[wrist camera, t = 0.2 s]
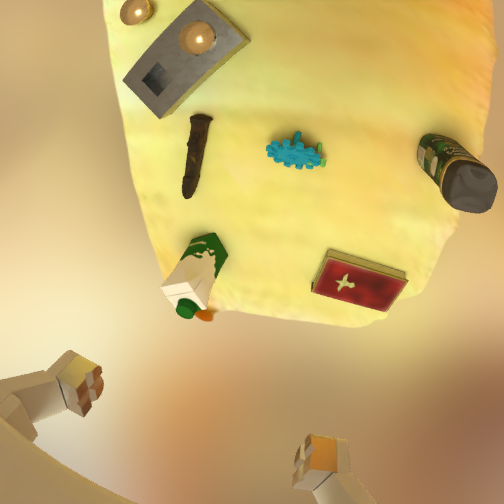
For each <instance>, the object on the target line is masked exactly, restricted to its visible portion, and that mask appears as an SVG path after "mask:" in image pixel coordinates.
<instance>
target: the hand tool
mask: <svg viewBox="0 0 504 504" xmlns="http://www.w3.org/2000/svg"><path fill="white" fill-rule="evenodd" d="M212 120H213V119H212V118H211V117H207V116H204V115H194V116H191V117H190V123H191V131H190V137H189V141H188V143H187V146H188V153H187V160H186V169H185V176H184V177H183V181H182V182H183V184H182V193H183V194H182V195H183V196H184V198H185V199H189V198H191V197H192V195H193V193H194V191H195V189H196V187H197V184H198V181H199V178H200V174H199V172H200V167H201V162H202V158H203V151H204V147H205V143H206V137H207V131H208V126H209V123H210V121H212Z"/></svg>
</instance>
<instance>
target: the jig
mask: <svg viewBox="0 0 504 504" xmlns="http://www.w3.org/2000/svg"><path fill="white" fill-rule="evenodd" d="M249 42H250V40H249V39H248V38H247V37H246V36H245V35H244V34H243V33H242V32H241V31H240V30H239V29H238V28H237V27H236V26H235V25H234V24H233V23H232V22H231V21H229V20H228V19H227V18H226V17H225V16H224V15H223V14H222V13H221V12H220V11H219V10H217V9H216V8H215V7H214V6H213V5H212V4H211V3H210V2H208V1H206V0H195V1H194V2H193V3H192V4H190V5H189V6H188V7H187V8H186V9H185V10H184V11H183V12H182V13H181V14H180V15H179V16H178V17H177V18H176V19H175V20H174V21H173V22H172V23H171V24H170V25H169V26H168V27H167V28H166V29H165V30H164V31H163V33H162V34H161V35H160V36H159V37H158V38H157V39H156V40H155V41H154V42H153V44H152V45H151V46H150V47H149V48H148V49H147V50H146V52H145V53H144V54H143V55H142V56H141V57H140V59H139V60H138V61H137V62H136V64H135V65H134V66H133V67H132V69H131V70H130V71H129V72H128V74H127V75H126V76H125V78H124V79H123V80H122V81H123V82H124V83H125V84H126V85H127V86H128V87H129V88H130V89H131V90H132V91H133V92H134V93H135V94H136V95H137V96H138V97H139V98H140V99H141V100H142V101H143V102H144V104H145V105H146V106H147V107H148V108H149V109H150V110H151V111H152V112H153V113H154V114H155V115H156V116H157V117H158V118H159V119H162V118H164V117H166V116H168V115H170V114H172V113H173V112H174V111H175V110H176V109H177V108H178V107H179V106H180V105H181V104H182V103H183V101H184V100H185V99H186V98H187V97H189V96H190V95H191V94H192V93H193V92H194V91H195V90H196V89H197V88H198V87H199V86H200V85H201V84H202V83H203V82H204V81H205V80H206V79H207V78H208V77H209V76H211V75H212V74H213V73H214V72H215V71H216V70H217V69H218V68H219V67H221V66H222V65H223V64H224V63H225V62H226V61H227V60H229V59H230V58H231V57H232V56H233V55H234V54H236V53H237V52H238V51H239V50H240V49H242V48H243V47H244V46H245V45H247V44H248V43H249Z"/></svg>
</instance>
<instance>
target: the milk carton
mask: <svg viewBox="0 0 504 504" xmlns="http://www.w3.org/2000/svg"><path fill="white" fill-rule="evenodd" d="M227 257H228V254H227V253H226V251H225V249H224V248H223V246H222V244H221V242H220V241H219V239H218V237H217V235H216V234H215V233H212V234H209V235H205V236H202V237H199V238H195V239H192V241H191V242H190V244H189V246H188V248H187V249H186V251H185V253H184V254H183V256H182V257H181V259H180V261H179V262H178V264H177V265H176V267H175V269H174V270H173V272H172V273H171V274H170V275H169V277H168V278H167V279H166V280H165V282H164V283H163V284H162V286H161V287H160V288H161V289H162V291H163V292H164V293H165V295H166V297H167V299H168V300H169V301H170V302H171V303H172V304H173V306H174V307H175V308H176V312H177V314H178V315H180V316H181V317H183V318H186V319H191V318H193V316H194V314H195V312H197V311H200V310H204V309H207V304H208V299H209V294H210V291H211V289H212V287H213V284H214V282H215V280H216V278H217V276H218V273H219V271H220V269H221V267H222V265H223V264H224V262H225V260H226V258H227Z"/></svg>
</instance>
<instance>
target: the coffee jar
mask: <svg viewBox="0 0 504 504" xmlns="http://www.w3.org/2000/svg"><path fill="white" fill-rule="evenodd" d="M418 163H419V165H420V166H421V167H422V169H423V170H424V171H425V172H426V173H427V174H428V175H429V176H430V177H431V178H432V179H433V181H434V182H435V183H436V184H437V185H438V187H439V188H440V192H441V194H442V196H443V198H444V199H445V200H446V201H447V202H448V204H449V205H450V206H452V207H453V208H455V209H457V210H462V211H465V212H470V213H483V212H486V211H487V210H489V209H491V207H492V204H493V202H494V199H495V196H496V193H497V188H498V186H497V180H496V178H495V176H494V174H493V173H492V172H491V171H490V169H489V168H488V167H487V166H485V165H484V164H483V163H481V162H480V161H479V160H477V159H476V158H475V157H473V156H472V155H471V154H470V153H469V152H468V151H466V150H465V149H464V148H463V147H462V146H461V145H460V144H458V143H457V142H456V141H454V140H452V139H450V138H447V137H444V136H440V135H427V136H425V137H424V138H423V139H422V140H421V142H420V145H419V149H418Z"/></svg>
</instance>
